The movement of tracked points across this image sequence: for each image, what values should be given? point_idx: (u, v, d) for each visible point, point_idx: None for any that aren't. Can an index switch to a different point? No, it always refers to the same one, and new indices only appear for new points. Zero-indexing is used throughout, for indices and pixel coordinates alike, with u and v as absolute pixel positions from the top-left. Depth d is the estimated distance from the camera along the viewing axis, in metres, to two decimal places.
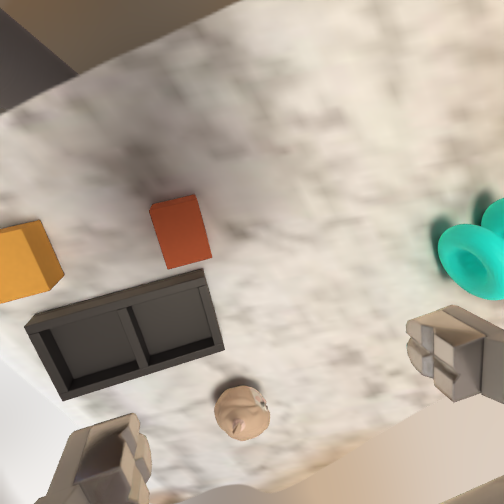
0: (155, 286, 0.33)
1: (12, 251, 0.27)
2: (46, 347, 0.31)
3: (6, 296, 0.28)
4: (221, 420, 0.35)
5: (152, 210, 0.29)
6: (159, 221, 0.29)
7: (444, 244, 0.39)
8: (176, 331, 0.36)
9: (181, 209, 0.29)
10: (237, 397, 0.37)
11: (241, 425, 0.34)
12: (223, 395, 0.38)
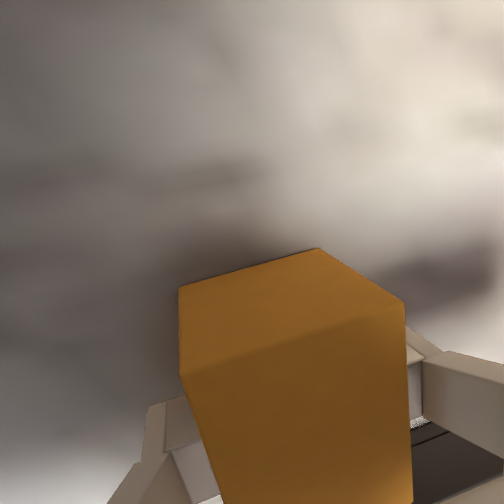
0: None
1: (348, 394, 0.06)
2: None
3: None
4: None
5: None
6: None
7: None
8: None
9: None
10: None
11: None
12: None
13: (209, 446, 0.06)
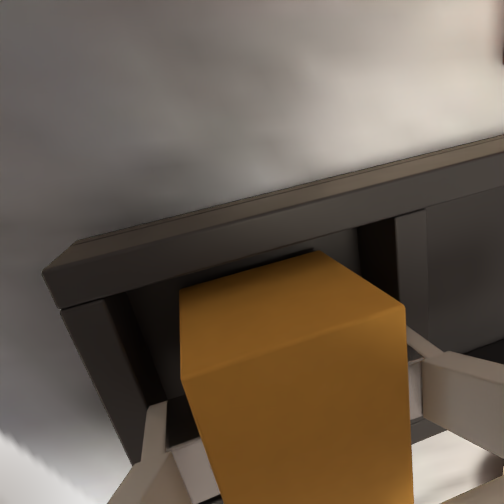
0: (498, 145, 0.09)
1: (348, 396, 0.06)
2: (129, 362, 0.08)
3: None
4: None
5: None
6: None
7: None
8: (470, 308, 0.13)
9: None
10: None
11: None
12: None
13: (210, 449, 0.06)
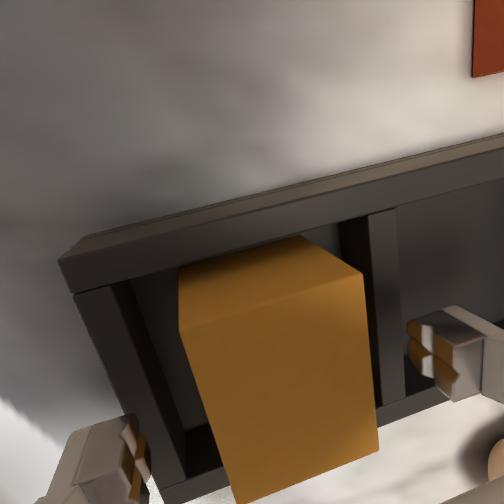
0: (463, 151, 0.10)
1: (318, 350, 0.08)
2: (133, 342, 0.09)
3: (268, 483, 0.09)
4: None
5: None
6: None
7: None
8: (446, 300, 0.14)
9: None
10: None
11: None
12: None
13: (203, 391, 0.07)
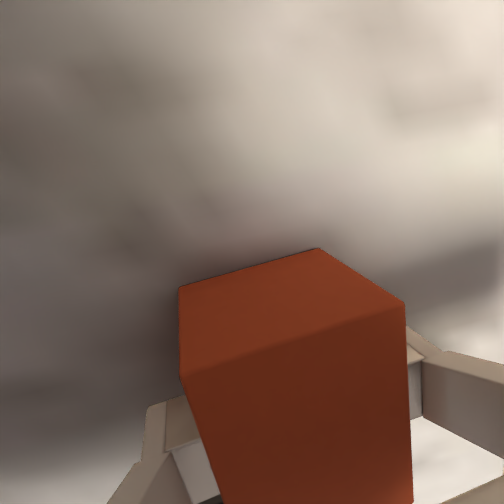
0: None
1: None
2: None
3: None
4: None
5: (197, 372, 0.06)
6: (230, 417, 0.06)
7: None
8: None
9: (333, 353, 0.06)
10: None
11: None
12: None
13: None
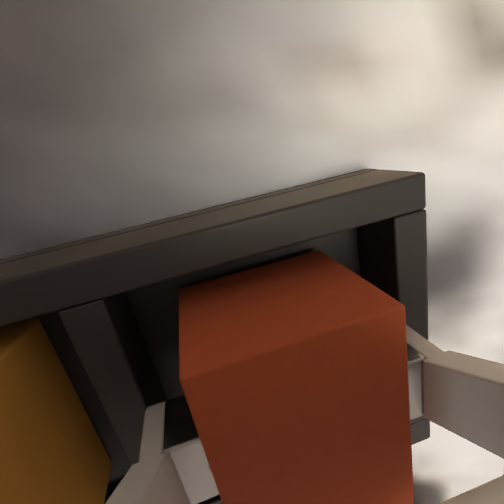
0: (224, 215, 0.08)
1: None
2: None
3: None
4: None
5: (197, 375, 0.06)
6: (230, 421, 0.06)
7: None
8: None
9: (333, 357, 0.06)
10: None
11: None
12: None
13: None
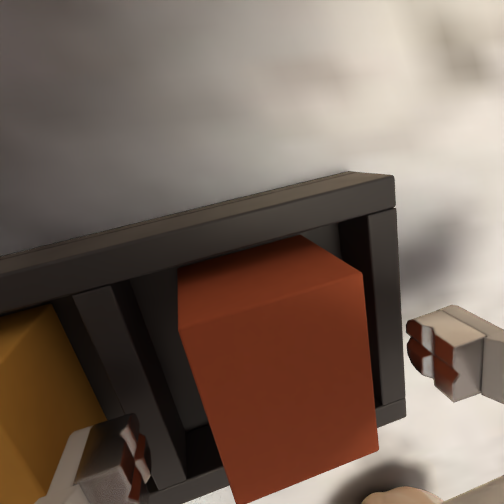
0: (217, 212, 0.09)
1: None
2: None
3: None
4: None
5: (192, 327, 0.07)
6: (219, 366, 0.07)
7: None
8: None
9: (303, 314, 0.07)
10: None
11: None
12: None
13: None
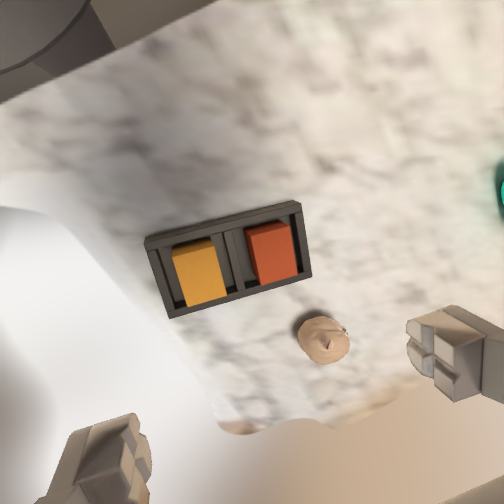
0: (255, 212, 0.36)
1: (205, 264, 0.33)
2: (160, 265, 0.34)
3: (195, 300, 0.34)
4: (310, 341, 0.38)
5: (253, 236, 0.33)
6: (258, 245, 0.34)
7: None
8: None
9: (276, 234, 0.34)
10: (321, 322, 0.40)
11: (331, 343, 0.37)
12: (306, 323, 0.41)
13: (177, 272, 0.33)
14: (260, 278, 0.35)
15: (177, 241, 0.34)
